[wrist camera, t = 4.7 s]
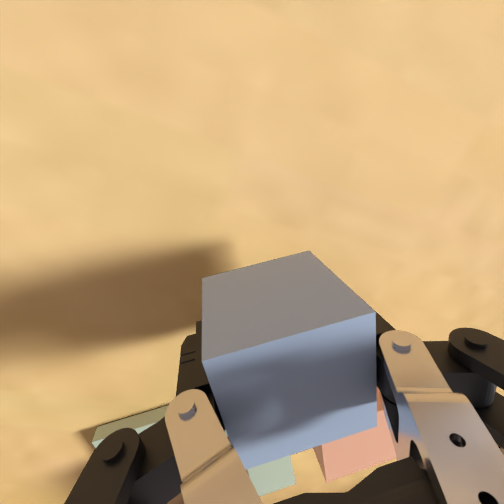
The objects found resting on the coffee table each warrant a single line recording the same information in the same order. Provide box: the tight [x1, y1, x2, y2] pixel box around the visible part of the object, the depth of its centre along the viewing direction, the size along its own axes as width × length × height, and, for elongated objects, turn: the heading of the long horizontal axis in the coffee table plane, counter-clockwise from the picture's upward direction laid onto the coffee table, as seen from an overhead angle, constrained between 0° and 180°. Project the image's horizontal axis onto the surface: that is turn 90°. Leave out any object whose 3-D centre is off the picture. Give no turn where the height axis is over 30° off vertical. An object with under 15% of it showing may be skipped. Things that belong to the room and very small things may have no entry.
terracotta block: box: [313, 387, 396, 483], centre depth 17 cm, size 5×5×5 cm
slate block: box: [202, 251, 377, 470], centre depth 10 cm, size 5×5×5 cm
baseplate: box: [92, 405, 296, 497], centre depth 20 cm, size 12×12×1 cm
